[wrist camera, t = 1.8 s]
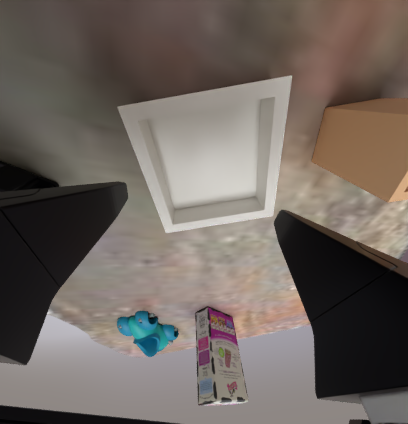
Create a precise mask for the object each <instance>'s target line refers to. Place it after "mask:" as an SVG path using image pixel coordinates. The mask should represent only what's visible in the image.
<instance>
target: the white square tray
mask: <svg viewBox="0 0 408 424" xmlns="http://www.w3.org/2000/svg"><path fill="white" fill-rule="evenodd" d="M291 81H292V75H291V76H285V77H280V78H274V79H269V80H263V81H258V82H252V83H246V84H241V85H235V86H230V87H224V88H218V89H213V90H207V91H202V92H196V93H190V94H185V95H179V96H174V97H168V98H163V99H157V100H151V101H146V102H140V103H135V104H129V105H123V106H118V107H117V108H118V110H119V113H120V115H121V118H122V121H123V123H124V126H125V128H126V131H127V133H128V136H129V139H130V141H131V144H132V146H133V149H134V151H135V154H136V157H137V159H138V162H139V164H140V167H141V170H142V172H143V175H144V177H145V180H146V182H147V185H148V188H149V190H150V193H151V195H152V198H153V200H154V203H155V206H156V208H157V211H158V213H159V216H160V218H161V221H162V224H163V226H164V229H165V231H166V233H170V232H176V231H183V230H189V229H195V228H201V227H208V226H214V225H220V224H226V223H232V222H239V221H245V220H251V219H257V218H264V217H270V216H273V212H274V205H275V198H276V190H277V183H278V176H279V169H280V161H281V154H282V147H283V140H284V132H285V125H286V118H287V110H288V103H289V96H290V89H291Z"/></svg>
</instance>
